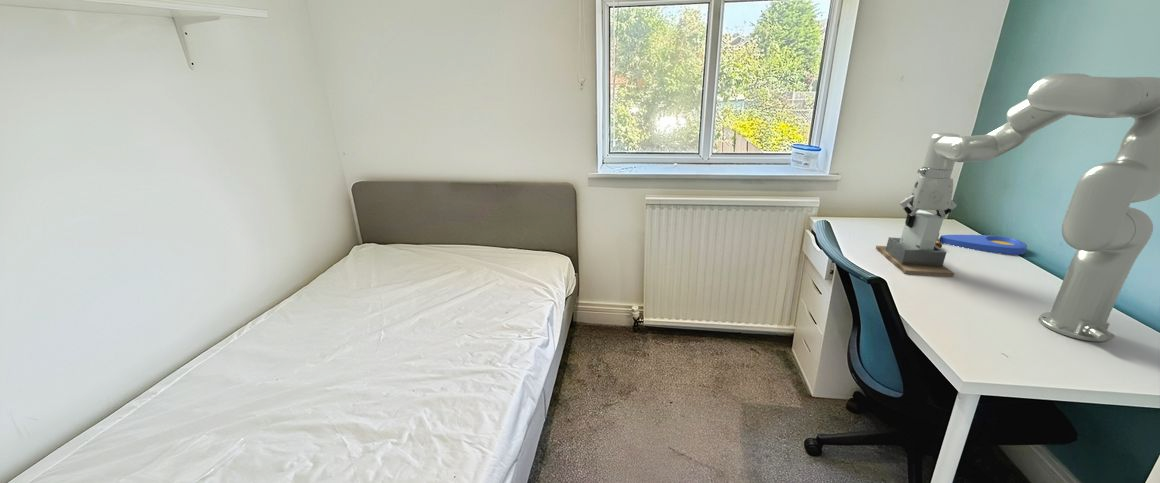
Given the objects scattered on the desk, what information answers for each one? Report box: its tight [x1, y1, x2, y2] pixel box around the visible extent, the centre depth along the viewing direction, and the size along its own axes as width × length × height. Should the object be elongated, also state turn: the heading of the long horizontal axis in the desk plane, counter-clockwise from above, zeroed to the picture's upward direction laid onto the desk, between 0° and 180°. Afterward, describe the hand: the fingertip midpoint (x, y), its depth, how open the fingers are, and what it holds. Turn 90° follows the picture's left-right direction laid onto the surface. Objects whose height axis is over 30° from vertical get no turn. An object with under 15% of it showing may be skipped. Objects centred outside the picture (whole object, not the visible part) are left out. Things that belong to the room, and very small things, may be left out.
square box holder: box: [875, 237, 955, 278], centre depth 156 cm, size 22×14×6 cm, turn 170°
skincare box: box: [899, 209, 945, 251], centre depth 153 cm, size 8×6×15 cm
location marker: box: [938, 234, 1028, 256], centre depth 170 cm, size 13×3×25 cm
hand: (921, 226), depth 152 cm, fingers closed on skincare box, 7 cm apart
